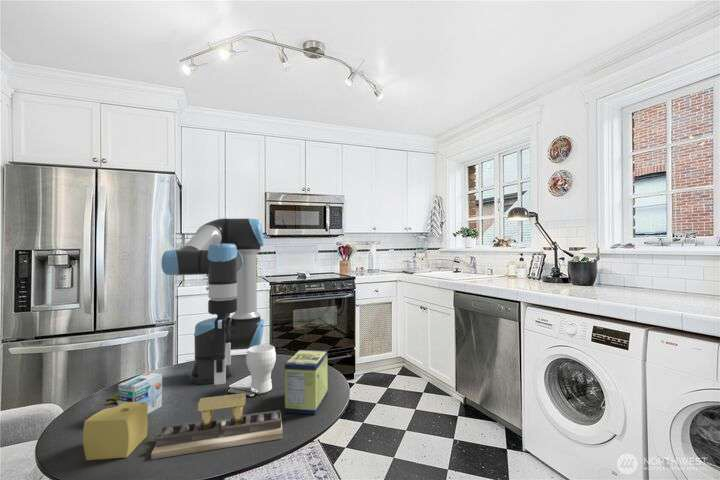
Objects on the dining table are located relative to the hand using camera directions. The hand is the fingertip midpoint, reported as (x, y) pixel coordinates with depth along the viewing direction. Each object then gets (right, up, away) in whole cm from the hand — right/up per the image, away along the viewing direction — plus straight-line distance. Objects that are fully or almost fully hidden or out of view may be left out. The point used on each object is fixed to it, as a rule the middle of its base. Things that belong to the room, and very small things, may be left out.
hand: (223, 373), depth 94 cm
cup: (+2, -18, +30) cm, 35 cm away
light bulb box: (-32, -18, +13) cm, 39 cm away
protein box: (+21, -18, +19) cm, 33 cm away
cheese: (-25, -18, -6) cm, 31 cm away
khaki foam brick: (0, -16, -1) cm, 16 cm away
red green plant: (-44, -19, +24) cm, 53 cm away
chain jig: (0, -17, -1) cm, 17 cm away
